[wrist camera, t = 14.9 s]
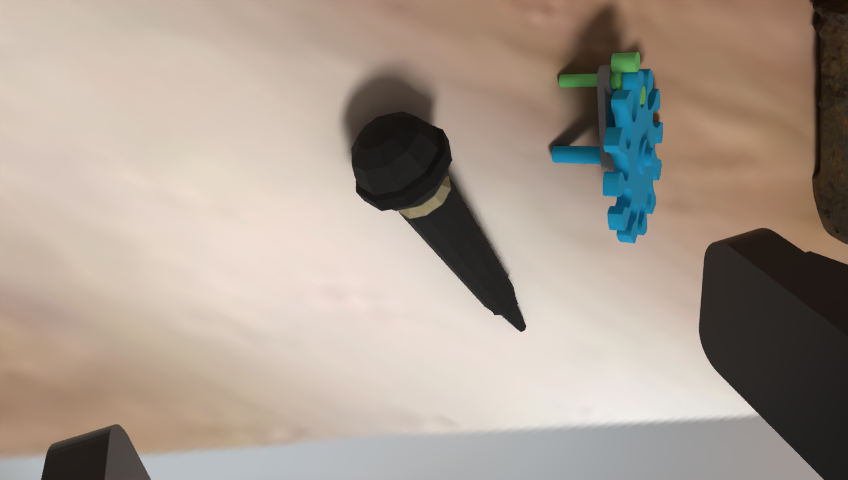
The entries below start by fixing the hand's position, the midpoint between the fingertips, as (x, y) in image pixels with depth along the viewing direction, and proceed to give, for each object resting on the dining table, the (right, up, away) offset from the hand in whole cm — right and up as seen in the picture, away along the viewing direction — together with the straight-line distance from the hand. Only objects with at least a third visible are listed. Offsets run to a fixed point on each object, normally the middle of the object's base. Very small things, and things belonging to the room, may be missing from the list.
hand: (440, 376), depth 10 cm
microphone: (+1, +2, +36) cm, 36 cm away
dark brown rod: (+28, +10, +40) cm, 50 cm away
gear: (+11, +9, +35) cm, 38 cm away
